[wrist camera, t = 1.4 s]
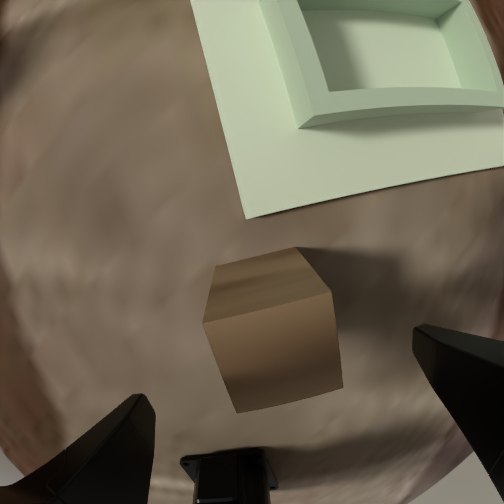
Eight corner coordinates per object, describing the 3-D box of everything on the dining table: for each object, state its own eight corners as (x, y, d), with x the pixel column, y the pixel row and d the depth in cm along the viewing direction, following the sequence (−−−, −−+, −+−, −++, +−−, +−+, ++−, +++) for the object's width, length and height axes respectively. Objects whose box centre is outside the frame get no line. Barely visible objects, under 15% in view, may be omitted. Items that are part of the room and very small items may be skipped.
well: (504, 164, 14) (543, 166, 10) (245, 217, 14) (248, 231, 10) (444, -15, 10) (472, -35, 7) (185, -19, 11) (175, -59, 7)
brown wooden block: (309, 317, 15) (343, 387, 10) (236, 335, 16) (236, 413, 10) (295, 246, 15) (331, 291, 9) (215, 266, 15) (202, 323, 9)
